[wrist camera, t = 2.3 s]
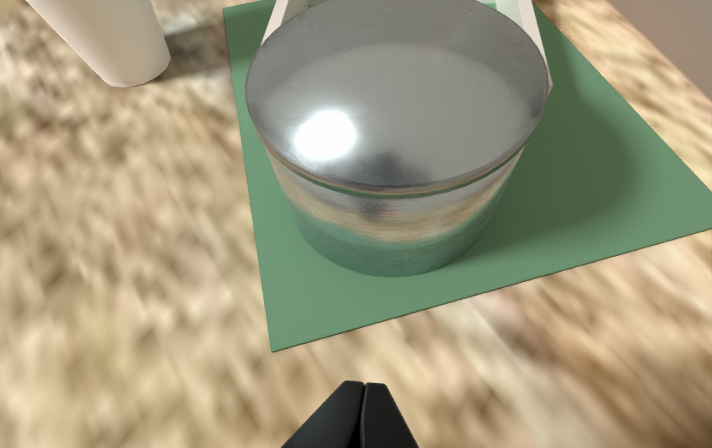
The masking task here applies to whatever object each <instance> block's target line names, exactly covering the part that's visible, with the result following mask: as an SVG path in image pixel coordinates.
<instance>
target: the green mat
mask: <svg viewBox="0 0 712 448" xmlns="http://www.w3.org/2000/svg"><path fill="white" fill-rule="evenodd" d="M276 1H277V0H261V1H256V2H251V3H246V4H241V5H236V6H231V7H227V8H223V14H224V21H225V28H226V35H227V42H228V49H229V57H230V64H231V71H232V78H233V85H234V92H235V99H236V106H237V113H238V120H239V127H240V134H241V141H242V148H243V155H244V162H245V169H246V177H247V184H248V191H249V198H250V205H251V212H252V219H253V226H254V233H255V240H256V247H257V254H258V261H259V268H260V275H261V282H262V290H263V297H264V304H265V311H266V318H267V325H268V332H269V339H270V346H271V352H276V351H279V350H283V349H286V348H290V347H293V346H297V345H300V344H304V343H308V342H311V341H315V340H318V339H322V338H325V337H329V336H332V335H336V334H340V333H343V332H347V331H350V330H354V329H357V328H361V327H364V326H368V325H371V324H375V323H379V322H382V321H386V320H389V319H393V318H396V317H400V316H403V315H407V314H411V313H414V312H418V311H421V310H425V309H428V308H432V307H435V306H439V305H443V304H446V303H450V302H453V301H457V300H460V299H464V298H467V297H471V296H474V295H478V294H482V293H485V292H489V291H492V290H496V289H499V288H503V287H506V286H510V285H514V284H517V283H521V282H524V281H528V280H531V279H535V278H538V277H542V276H546V275H549V274H553V273H556V272H560V271H563V270H567V269H570V268H574V267H577V266H581V265H585V264H588V263H592V262H595V261H599V260H602V259H606V258H609V257H613V256H617V255H620V254H624V253H627V252H631V251H634V250H638V249H641V248H645V247H649V246H652V245H656V244H659V243H663V242H666V241H670V240H673V239H677V238H681V237H684V236H688V235H691V234H695V233H698V232H702V231H705V230H709V229H712V192H711V191H710V190H709V189H708V188H707V187H706V185H705V184H704V183H703V182H702V181H701V180H700V179H699V178H698V177H697V176H696V175H695V174H694V173H693V172H692V171H691V170H690V168H689V167H688V166H687V165H686V164H685V163H684V162H683V161H682V160H681V159H680V158H679V157H678V156H677V155H676V154H675V153H674V152H673V150H672V149H671V148H670V147H669V146H668V145H667V144H666V143H665V142H664V141H663V140H662V139H661V138H660V137H659V136H658V135H657V134H656V132H655V131H654V130H653V129H652V128H651V127H650V126H649V125H648V124H647V123H646V122H645V121H644V120H643V119H642V118H641V117H640V115H639V114H638V113H637V112H636V111H635V110H634V109H633V108H632V107H631V106H630V105H629V104H628V103H627V102H626V101H625V100H624V99H623V97H622V96H621V95H620V94H619V93H618V92H617V91H616V90H615V89H614V88H613V87H612V86H611V85H610V84H609V83H608V82H607V80H606V79H605V78H604V77H603V76H602V75H601V74H600V73H599V72H598V71H597V70H596V69H595V68H594V67H593V66H592V65H591V64H590V62H589V61H588V60H587V59H586V58H585V57H584V56H583V55H582V54H581V53H580V52H579V51H578V50H577V49H576V48H575V47H574V45H573V44H572V43H571V42H570V41H569V40H568V39H567V38H566V37H565V36H564V35H563V34H562V33H561V32H560V31H559V30H558V29H557V27H556V26H555V25H554V24H553V23H552V22H551V21H550V20H549V19H548V18H547V17H546V16H545V15H544V14H543V13H542V12H541V10H540V9H539V8H538V7H537V6H536V5H535V4H534V3H533V2H532V1H531V2H532V6H533V10H534V14H535V17H536V21H537V25H538V29H539V33H540V37H541V41H542V45H543V49H544V53H545V56H546V60H547V64H548V68H549V72H550V76H551V80H552V84H553V87H552V89H551V91H550V93H549V95H548V98H547V102H546V105H545V108H544V111H543V114H542V116H541V118H540V120H539V122H538V124H537V127H536V129H535V130H534V132H533V134H532V135H531V137H530V139H529V141H528V142H527V143H526V145H525V147H524V149H523V151H522V153H521V156H520V158H519V160H518V162H517V164H516V167H515V169H514V171H513V173H512V175H511V177H510V180H509V182H508V184H507V186H506V188H505V191H504V193H503V195H502V197H501V199H500V201H499V204H498V206H497V208H496V210H495V212H494V214H493V217H492V219H491V221H490V223H489V225H488V227H487V228H486V230H485V232H484V234H483V235H482V236H481V238H480V239H479V240H478V241H477V242H476V244H475V245H474V246H473V247H472V248H470V249H469V250H468V251H467V252H466V253H465V254H464V255H462V256H461V257H459V258H458V259H456V260H455V261H453V262H451V263H449V264H447V265H445V266H443V267H441V268H439V269H436V270H433V271H430V272H427V273H424V274H419V275H414V276H407V277H395V278H394V277H377V276H370V275H364V274H361V273H357V272H354V271H350V270H348V269H345V268H343V267H341V266H339V265H336V264H334V263H333V262H331V261H330V260H328V259H326V258H325V257H323V256H322V255H321V254H319V253H318V252H317V251H316V250H314V249H313V248H312V247H311V246H310V245H309V243H308V242H307V241H306V240H305V239H304V238H303V236H302V235H301V233H300V232H299V230H298V229H297V227H296V225H295V223H294V221H293V219H292V216H291V213H290V211H289V208H288V206H287V203H286V201H285V198H284V196H283V193H282V191H281V188H280V185H279V183H278V180H277V178H276V175H275V173H274V170H273V168H272V165H271V162H270V160H269V157H268V155H267V152H266V150H265V147H264V145H263V143H262V141H261V140H260V138H259V136H258V134H257V132H256V129H255V127H254V125H253V122H252V120H251V117H250V115H249V112H248V108H247V104H246V98H245V83H246V76H247V72H248V69H249V66H250V63H251V61H252V59H253V57H254V56H255V54H256V52H257V50H258V49H259V48H260V46H261V43H262V40H263V37H264V35H265V32H266V29H267V26H268V23H269V20H270V18H271V15H272V12H273V9H274V6H275V4H276ZM483 4H485V5H487V6H490V7H492V8H494V9H496V10H497V7H496V3H483ZM311 6H313V5H309V6H308V8H309V7H311Z"/></svg>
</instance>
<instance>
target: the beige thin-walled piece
mask: <svg viewBox="0 0 712 448" xmlns="http://www.w3.org/2000/svg"><path fill="white" fill-rule="evenodd" d="M323 1H325V0H277V1H276V4H275V6H274V9H273V12H272V15H271V18H270V20H269V23H268V26H267V29H266V32H265V35H264V37H263V40H262V43H263V42H264V41H265V40H266V39H267V38H268V37H269V36H270V35H271V33H272V32H273V31H274V30H276V29H277V28H278V27H279V26H281V25H282V24H283V23H284V22H286V21H287V20H289V19H290V18H292V17H293V16H295V15H296V14H298V13H300V12H302V11H303V10H305V9H307V8H308V6H309V5H316V4H318V3H321V2H323ZM476 1H478V2H481V3H496V7H497V11H499V12H501V13H502V14H504V15H506V16H507V17H509V18H510V19H511V20H513V21H514V22H515V23H516V24H518V25H519V26H520V27H521V28H522V29H523V30H524V31H525V32H526V33H527V34H528V35H529V36H530V37H531V39H532V40H533V41H534V43H535V44H536V45H537V47H538V48H539V50H540V52H541V54H542V56H543V58H544V61H545V64H546V68H547V71H548V80H549V90H548V95H549V93H550V91H551V89H552V87H553V84H552V80H551V76H550V72H549V68H548V64H547V60H546V56H545V53H544V49H543V45H542V41H541V37H540V33H539V29H538V25H537V21H536V17H535V14H534V10H533V6H532V2H531V0H476ZM262 43H261V45H262Z"/></svg>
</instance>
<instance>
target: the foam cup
mask: <svg viewBox="0 0 712 448" xmlns="http://www.w3.org/2000/svg"><path fill="white" fill-rule="evenodd" d="M26 1H27V2H28V3H29V4H30V5H31V6H32V7H33V8H34V9H35V10H36V11H37V12H38V13H39V14H40V15H41V16H42V17H43V18H44V19H45V21H46V22H47V23H48V24H49V25H50V26H51V27H52V28H53V29H54V30H55V31H56V32H57V33H58V34H59V35H60V36H61V37H62V38H63V39H64V40H65V41H66V42H67V43H68V44H69V45H70V46H71V47H72V48H73V50H74V51H75V52H76V53H77V54H78V55H79V56H80V57H81V58H82V59H83V60H84V61H85V62H86V63H87V64H88V65H89V66H90V67H91V68H92V69H93V70H94V71H95V72H96V73H97V74H98V75H99V76H101V78H102V79H103V80H104V81H105V82H107V83H108V84H109V85H111V86H116V87H123V88H126V87H131V86H137V85H142V84H144V83H146V82H148V81H150V80H152V79H154V78H156V77H157V76H159V75H160V74H161V73H162V72H163V71H164V70H165V69H166V68H167V67H168V64H169V62H170V60H171V56H170V53H169V50H168V47H167V44H166V41H165V38H164V36H163V33H162V31H161V28H160V25H159V23H158V20H157V17H156V15H155V12H154V10H153V7H152V4H151V2H150V0H26Z"/></svg>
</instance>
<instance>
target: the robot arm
mask: <svg viewBox="0 0 712 448" xmlns="http://www.w3.org/2000/svg"><path fill="white" fill-rule="evenodd" d="M281 448H419V447H418V445H417V443H416V441H415V439H414V437H413V435H412V433H411V431H410V429H409V428H408V426H407V424H406V422H405V420H404V418H403V416H402V414H401V412H400V410H399V409H398V407H397V405H396V403H395V401H394V399H393V397H392V395H391V393H390V391H389V390H388V388H387V386H386V385H385V384H382V383H370V382H368V383H366V384H364V383H363V382H359V381H344V382H343V383H342V384H341V385H340V386H339V387H338V388H337V389H336V390H335V391H334V392H333V393H332V394H331V395H330V396H329V398H328V399H327V400H326V401H325V402H324V403H323V404H322V405H321V406H320V407H319V408H318V409H317V410H316V411H315V412H314V413H313V414H312V415H311V416H310V417H309V418H308V420H307V421H306V422H305V423H304V424H303V425H302V426H301V427H300V428H299V429H298V430H297V431H296V432H295V433H294V434H293V435H292V436H291V437H290V438H289V439H288V440H287V442H286V443H285V444H284V445H283V446H282V447H281Z"/></svg>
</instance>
